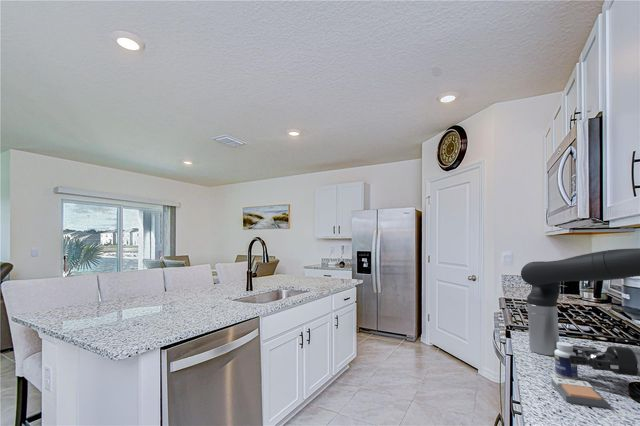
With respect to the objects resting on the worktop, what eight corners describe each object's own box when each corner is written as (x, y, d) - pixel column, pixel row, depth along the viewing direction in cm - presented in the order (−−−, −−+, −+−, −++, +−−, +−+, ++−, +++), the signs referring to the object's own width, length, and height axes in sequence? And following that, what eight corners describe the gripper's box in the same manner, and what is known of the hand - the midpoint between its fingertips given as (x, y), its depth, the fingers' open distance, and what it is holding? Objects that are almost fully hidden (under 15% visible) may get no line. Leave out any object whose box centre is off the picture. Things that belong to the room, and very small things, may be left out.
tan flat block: (551, 384, 91) (551, 376, 92) (587, 389, 88) (587, 380, 89) (566, 402, 81) (565, 393, 81) (608, 408, 78) (607, 398, 78)
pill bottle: (551, 375, 98) (549, 342, 99) (563, 372, 100) (561, 340, 101) (570, 382, 93) (568, 347, 94) (582, 379, 95) (580, 345, 96)
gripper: (617, 341, 99) (555, 335, 104) (646, 356, 85) (573, 349, 91) (619, 366, 98) (556, 359, 103) (648, 385, 85) (574, 376, 90)
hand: (564, 354), depth 97 cm, fingers open, 8 cm apart
